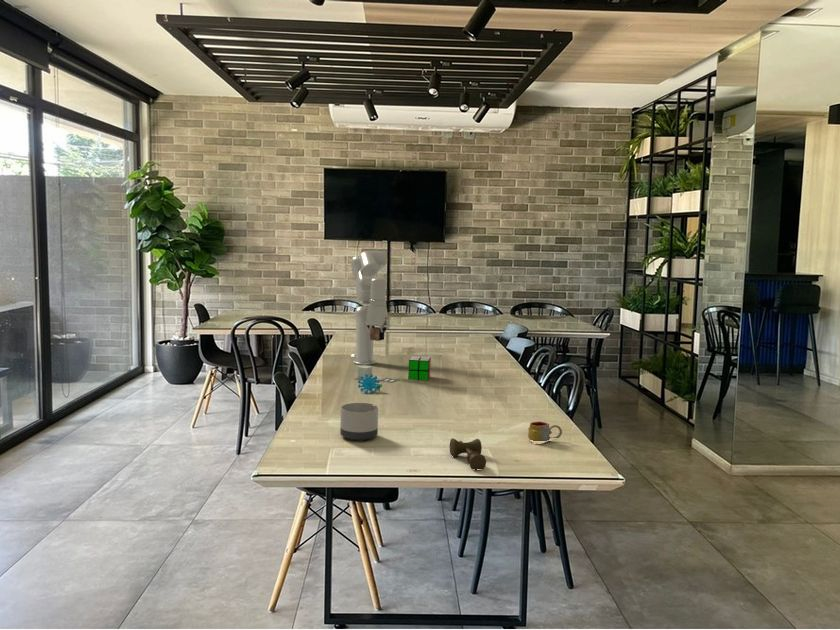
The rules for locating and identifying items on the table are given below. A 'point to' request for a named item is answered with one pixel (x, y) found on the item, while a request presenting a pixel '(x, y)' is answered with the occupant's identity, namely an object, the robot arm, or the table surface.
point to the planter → (359, 421)
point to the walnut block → (375, 333)
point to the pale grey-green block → (364, 371)
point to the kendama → (469, 452)
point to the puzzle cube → (419, 368)
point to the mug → (541, 431)
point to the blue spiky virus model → (369, 383)
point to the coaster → (389, 380)
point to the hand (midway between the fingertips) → (377, 338)
